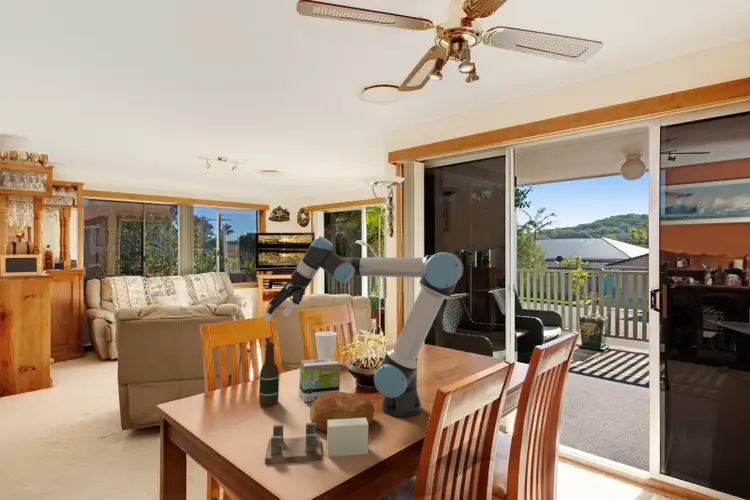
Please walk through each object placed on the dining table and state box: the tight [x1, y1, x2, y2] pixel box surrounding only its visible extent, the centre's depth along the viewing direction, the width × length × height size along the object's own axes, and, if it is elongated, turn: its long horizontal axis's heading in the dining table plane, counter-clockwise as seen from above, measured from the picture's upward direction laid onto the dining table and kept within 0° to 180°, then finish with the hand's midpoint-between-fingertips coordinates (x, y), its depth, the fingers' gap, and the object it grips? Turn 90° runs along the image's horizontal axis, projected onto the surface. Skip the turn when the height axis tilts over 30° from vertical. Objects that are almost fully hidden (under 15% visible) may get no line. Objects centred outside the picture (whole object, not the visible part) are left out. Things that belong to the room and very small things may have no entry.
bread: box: [309, 391, 375, 432], centre depth 146 cm, size 23×23×10 cm
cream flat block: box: [326, 418, 369, 458], centre depth 125 cm, size 12×5×9 cm, turn 99°
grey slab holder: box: [264, 422, 322, 465], centre depth 124 cm, size 16×12×6 cm
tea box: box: [298, 357, 341, 403], centre depth 171 cm, size 15×10×15 cm, turn 111°
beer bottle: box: [258, 342, 280, 408], centre depth 163 cm, size 8×8×24 cm
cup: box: [314, 331, 338, 359], centre depth 222 cm, size 12×12×16 cm
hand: (275, 317), depth 159 cm, fingers open, 13 cm apart
